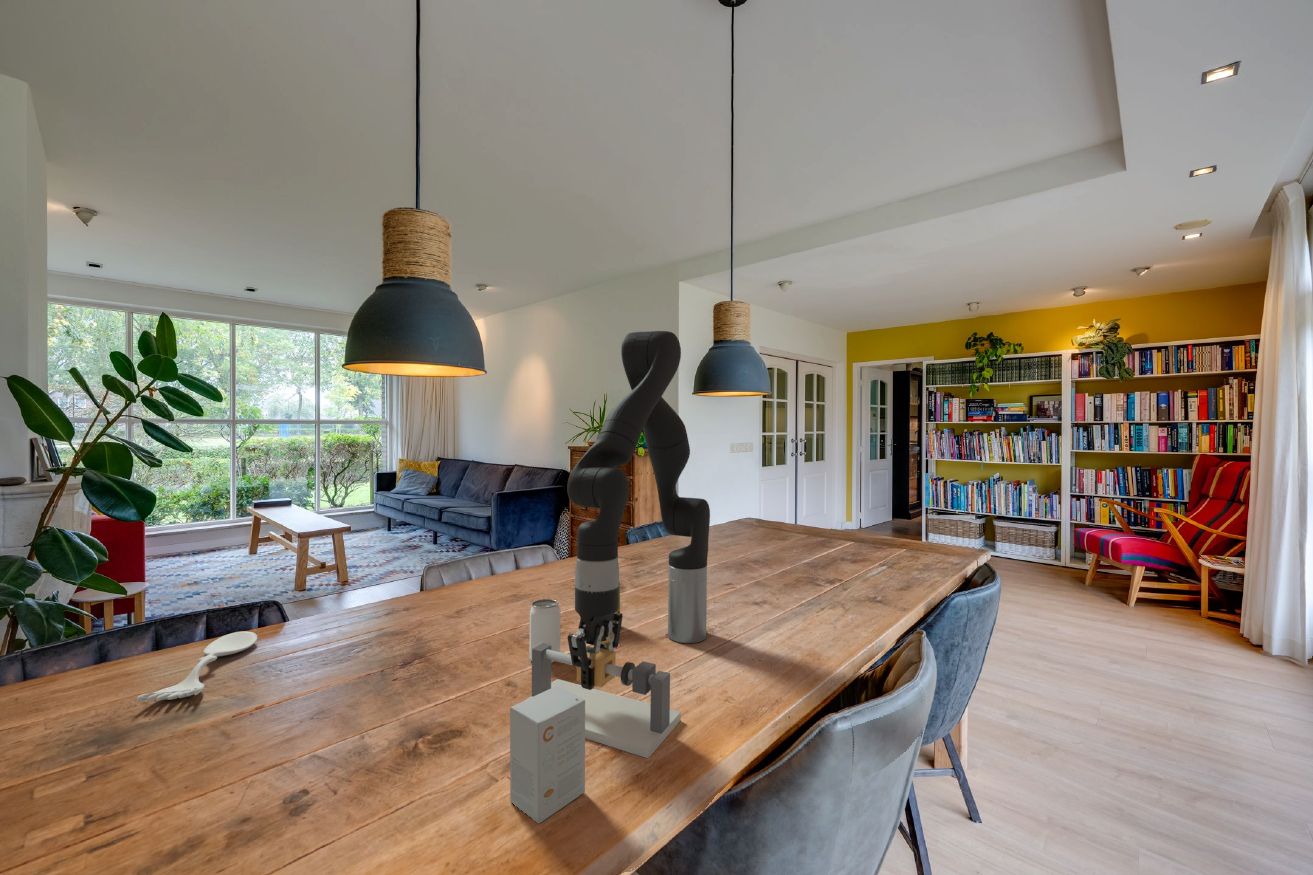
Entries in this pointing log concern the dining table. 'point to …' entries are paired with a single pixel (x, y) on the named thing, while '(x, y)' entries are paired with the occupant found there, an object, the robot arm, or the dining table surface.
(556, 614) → the can
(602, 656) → the sleeve
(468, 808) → the dining table surface
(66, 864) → the dining table surface
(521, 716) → the small box
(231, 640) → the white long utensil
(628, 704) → the cable stand
